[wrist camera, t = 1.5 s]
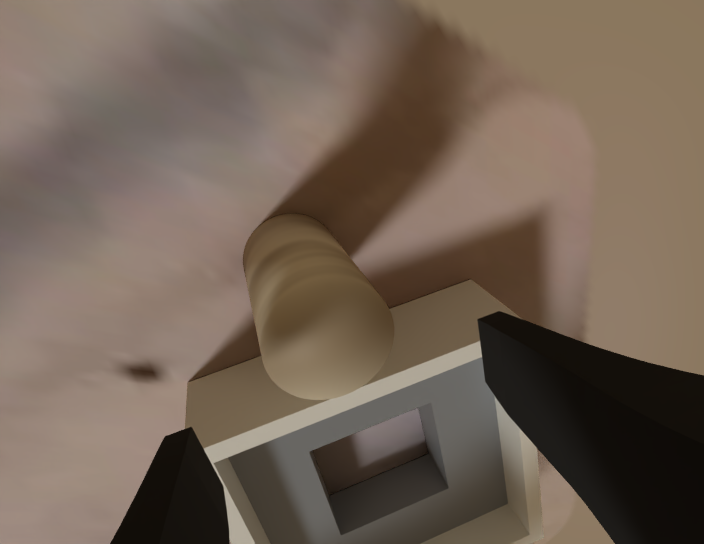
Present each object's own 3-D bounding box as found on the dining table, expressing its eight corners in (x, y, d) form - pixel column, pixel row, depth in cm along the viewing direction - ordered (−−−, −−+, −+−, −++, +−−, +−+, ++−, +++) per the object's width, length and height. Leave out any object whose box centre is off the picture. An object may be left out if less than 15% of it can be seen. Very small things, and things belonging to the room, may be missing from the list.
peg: (346, 284, 21) (404, 371, 15) (260, 313, 20) (284, 418, 14) (323, 200, 19) (379, 260, 13) (229, 230, 19) (241, 309, 13)
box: (497, 474, 29) (543, 537, 25) (280, 569, 27) (294, 656, 23) (471, 279, 23) (527, 322, 19) (187, 382, 21) (183, 456, 17)
